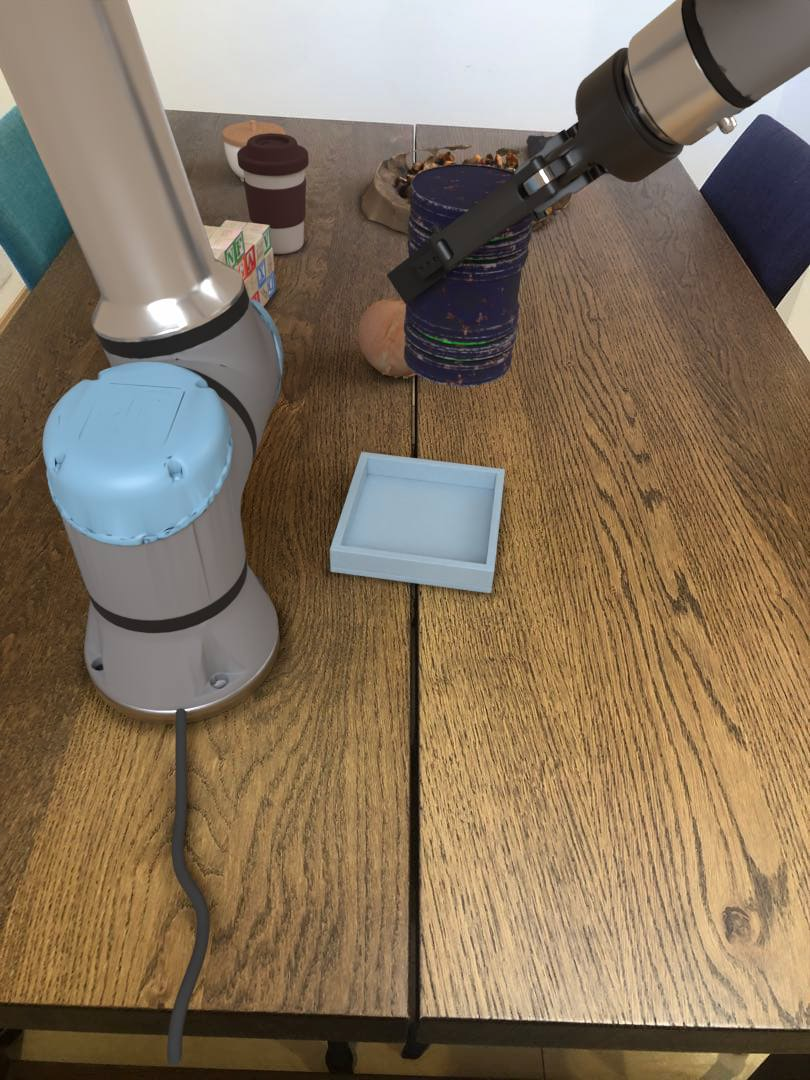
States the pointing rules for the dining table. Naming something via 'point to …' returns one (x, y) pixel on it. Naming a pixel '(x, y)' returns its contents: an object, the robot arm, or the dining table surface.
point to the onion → (385, 337)
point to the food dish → (394, 176)
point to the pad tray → (420, 522)
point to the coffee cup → (276, 187)
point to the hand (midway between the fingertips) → (433, 265)
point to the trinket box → (244, 139)
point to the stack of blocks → (246, 255)
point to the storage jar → (464, 283)
